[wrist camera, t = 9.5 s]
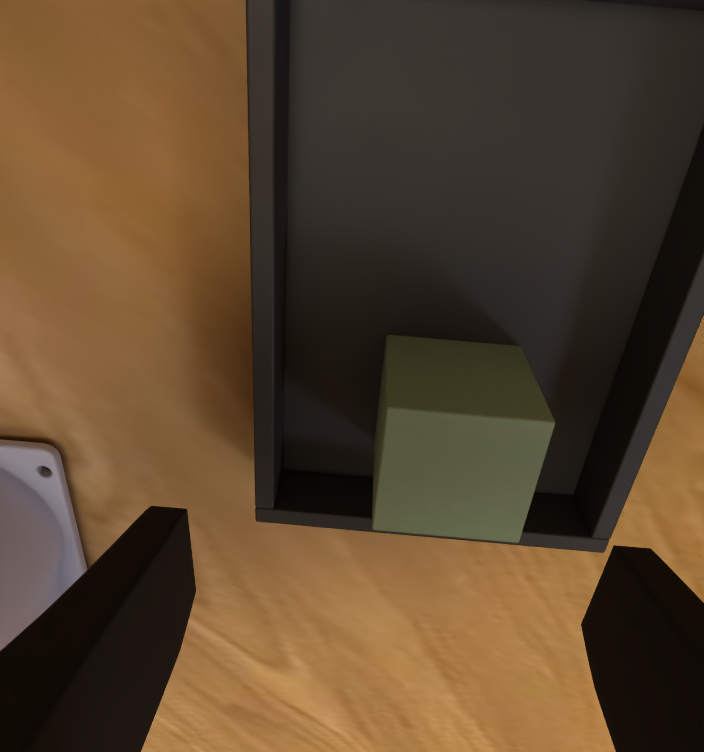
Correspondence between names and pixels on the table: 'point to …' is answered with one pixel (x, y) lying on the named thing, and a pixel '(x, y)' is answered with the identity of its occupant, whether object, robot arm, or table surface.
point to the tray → (472, 230)
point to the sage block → (457, 439)
